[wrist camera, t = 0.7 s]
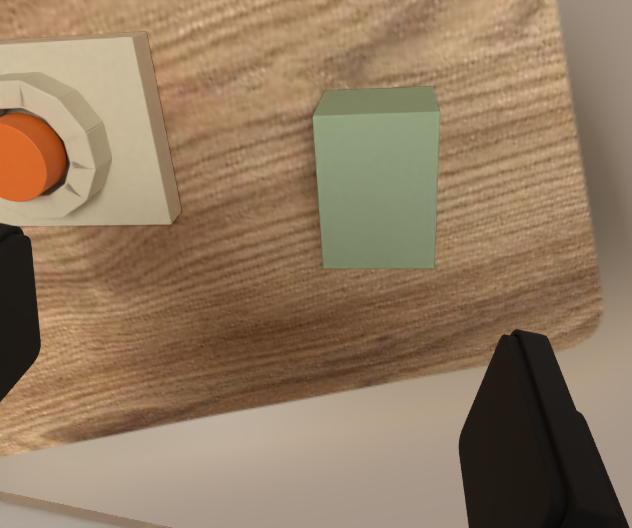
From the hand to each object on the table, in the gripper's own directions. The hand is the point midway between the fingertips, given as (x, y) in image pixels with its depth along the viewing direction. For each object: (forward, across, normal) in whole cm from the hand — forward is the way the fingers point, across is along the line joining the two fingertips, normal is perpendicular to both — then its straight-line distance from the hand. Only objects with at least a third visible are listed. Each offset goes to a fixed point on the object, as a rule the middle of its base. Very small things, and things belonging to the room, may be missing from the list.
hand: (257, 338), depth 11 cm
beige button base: (+18, +14, +4) cm, 23 cm away
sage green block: (+18, -3, +2) cm, 18 cm away
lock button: (+15, +14, +4) cm, 21 cm away
